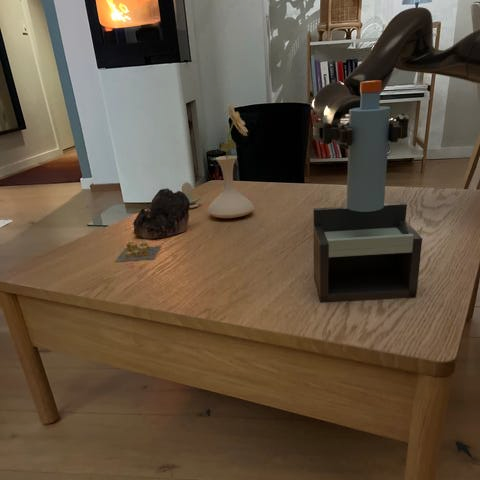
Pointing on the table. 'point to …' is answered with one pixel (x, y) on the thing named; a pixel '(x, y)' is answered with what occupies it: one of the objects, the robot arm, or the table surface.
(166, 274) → the table surface
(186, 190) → the pacifier
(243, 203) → the flower in vase
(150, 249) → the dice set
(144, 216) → the dark brown rock
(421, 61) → the robot arm
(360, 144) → the plastic bottle
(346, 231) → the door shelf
